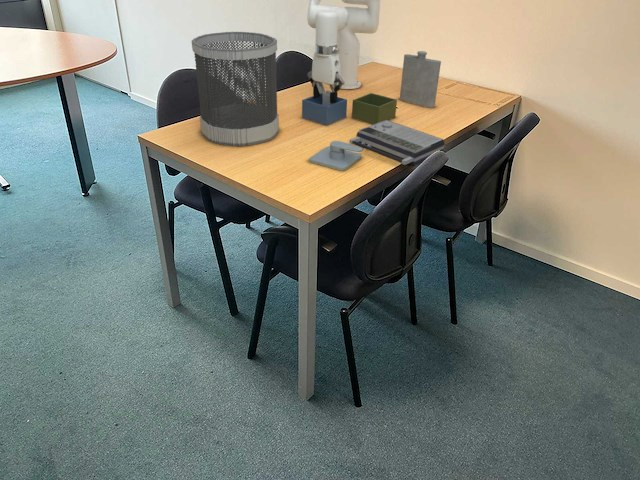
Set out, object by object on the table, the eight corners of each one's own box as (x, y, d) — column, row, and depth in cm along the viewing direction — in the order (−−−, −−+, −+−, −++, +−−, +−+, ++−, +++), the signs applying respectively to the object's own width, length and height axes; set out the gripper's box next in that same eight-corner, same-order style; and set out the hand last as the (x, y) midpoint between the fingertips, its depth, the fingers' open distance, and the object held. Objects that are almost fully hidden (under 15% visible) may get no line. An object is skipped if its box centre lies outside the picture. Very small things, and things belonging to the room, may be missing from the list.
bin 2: (351, 118, 195) (352, 100, 191) (369, 110, 202) (370, 92, 199) (377, 125, 189) (379, 107, 185) (395, 117, 196) (397, 99, 193)
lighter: (333, 106, 191) (334, 84, 186) (330, 107, 189) (331, 85, 185) (318, 101, 194) (318, 80, 190) (315, 103, 193) (315, 81, 189)
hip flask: (436, 106, 208) (443, 54, 197) (430, 109, 205) (437, 56, 195) (402, 97, 217) (407, 47, 206) (396, 99, 214) (402, 48, 203)
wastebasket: (220, 151, 166) (212, 53, 150) (192, 126, 184) (181, 36, 168) (290, 136, 177) (289, 44, 161) (257, 114, 195) (253, 29, 179)
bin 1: (301, 118, 193) (302, 99, 190) (321, 110, 201) (322, 92, 197) (326, 125, 187) (327, 107, 184) (346, 117, 195) (347, 99, 191)
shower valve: (352, 156, 152) (308, 144, 158) (351, 173, 155) (308, 161, 161) (371, 142, 161) (328, 132, 167) (369, 159, 164) (328, 148, 170)
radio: (446, 136, 167) (407, 153, 155) (443, 152, 170) (405, 169, 158) (386, 116, 181) (347, 130, 169) (385, 131, 184) (346, 145, 172)
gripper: (353, 51, 179) (350, 102, 189) (313, 43, 188) (313, 92, 198) (339, 56, 174) (337, 108, 184) (300, 47, 183) (300, 97, 193)
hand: (324, 99), depth 191 cm, fingers closed on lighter, 7 cm apart
